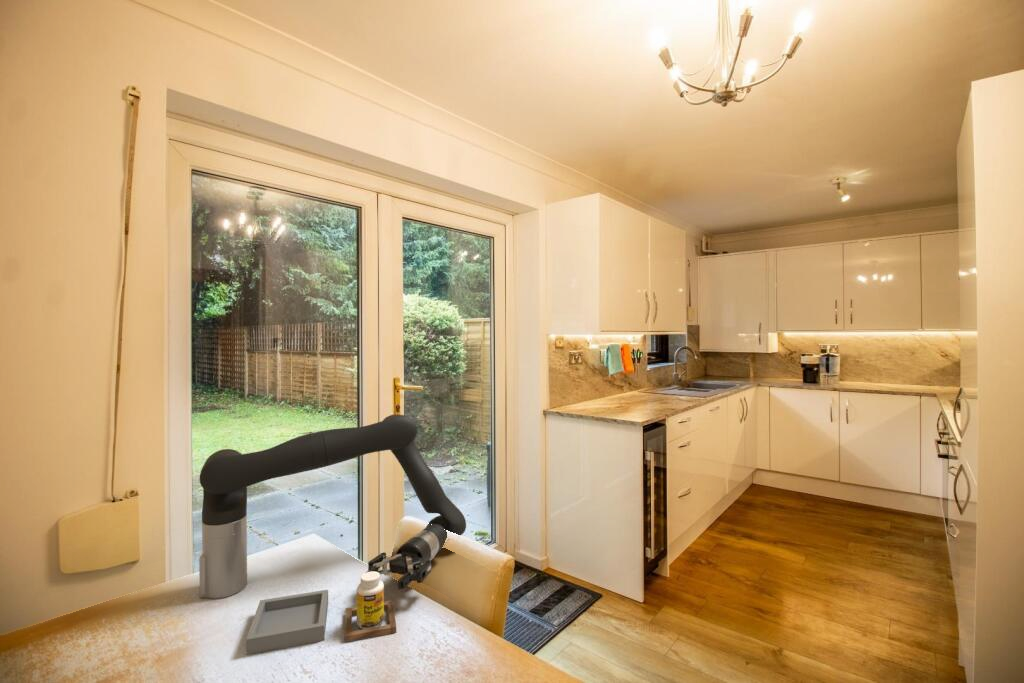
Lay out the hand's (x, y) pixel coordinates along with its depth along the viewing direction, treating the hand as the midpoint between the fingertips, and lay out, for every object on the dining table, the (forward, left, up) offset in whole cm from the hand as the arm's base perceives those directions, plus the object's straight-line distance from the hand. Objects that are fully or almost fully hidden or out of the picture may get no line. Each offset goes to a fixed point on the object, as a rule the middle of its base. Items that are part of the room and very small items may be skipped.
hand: (382, 582), depth 105 cm
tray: (-19, 0, -6) cm, 20 cm away
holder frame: (-3, -4, -6) cm, 8 cm away
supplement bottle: (-3, -4, -7) cm, 8 cm away
